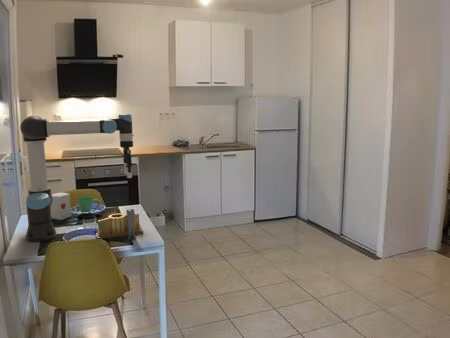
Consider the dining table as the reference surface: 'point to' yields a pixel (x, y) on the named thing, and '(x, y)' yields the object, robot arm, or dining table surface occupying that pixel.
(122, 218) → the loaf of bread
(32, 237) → the robot arm
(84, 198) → the mug
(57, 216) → the supplement box
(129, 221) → the hinge pin
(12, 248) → the dining table surface
